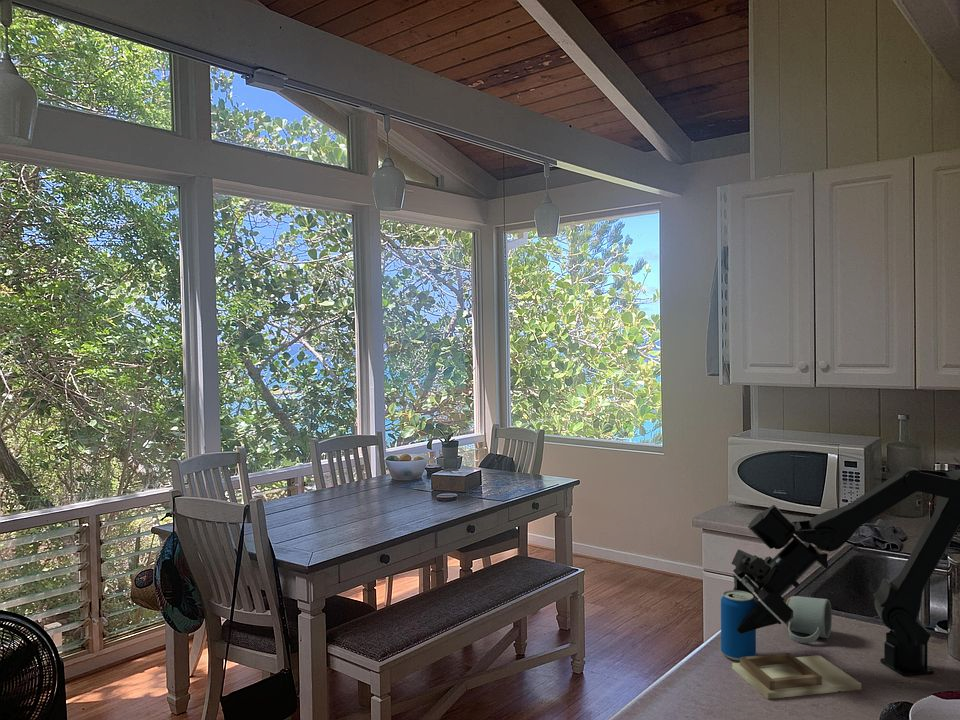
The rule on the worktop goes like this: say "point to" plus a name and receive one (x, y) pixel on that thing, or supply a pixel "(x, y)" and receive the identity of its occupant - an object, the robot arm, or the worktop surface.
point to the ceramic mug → (809, 618)
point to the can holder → (793, 675)
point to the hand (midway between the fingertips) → (731, 622)
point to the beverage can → (736, 625)
